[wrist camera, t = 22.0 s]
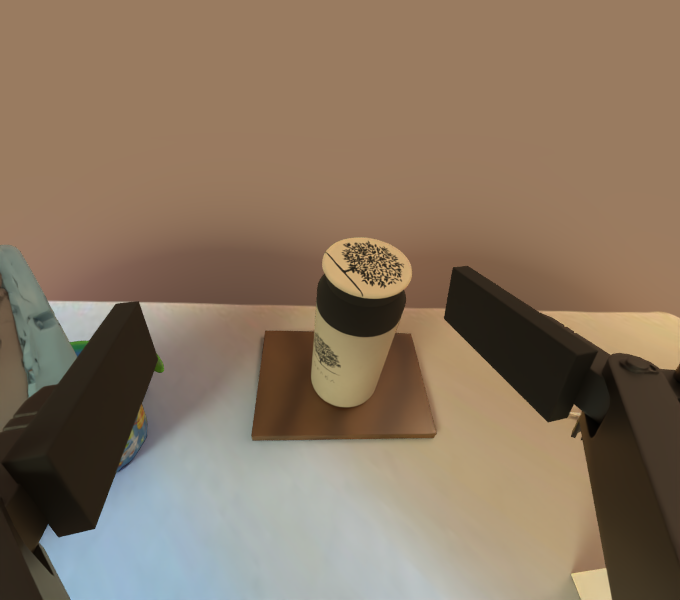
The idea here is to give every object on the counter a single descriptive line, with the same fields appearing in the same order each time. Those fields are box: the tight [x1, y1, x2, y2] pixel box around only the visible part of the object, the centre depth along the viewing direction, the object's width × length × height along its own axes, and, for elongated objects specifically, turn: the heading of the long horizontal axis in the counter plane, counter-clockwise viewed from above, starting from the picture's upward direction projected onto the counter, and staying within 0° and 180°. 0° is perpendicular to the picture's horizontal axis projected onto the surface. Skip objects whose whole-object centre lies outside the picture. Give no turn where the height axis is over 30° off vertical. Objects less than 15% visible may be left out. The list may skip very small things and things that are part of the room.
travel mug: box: [311, 238, 412, 407], centre depth 33 cm, size 8×8×18 cm
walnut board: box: [251, 331, 436, 441], centre depth 40 cm, size 20×14×1 cm
